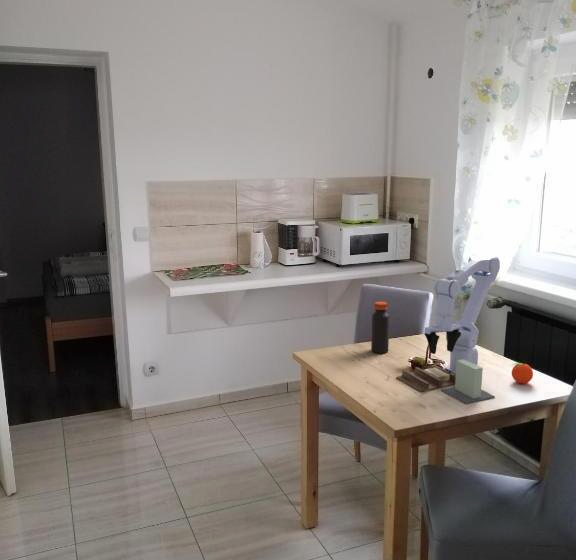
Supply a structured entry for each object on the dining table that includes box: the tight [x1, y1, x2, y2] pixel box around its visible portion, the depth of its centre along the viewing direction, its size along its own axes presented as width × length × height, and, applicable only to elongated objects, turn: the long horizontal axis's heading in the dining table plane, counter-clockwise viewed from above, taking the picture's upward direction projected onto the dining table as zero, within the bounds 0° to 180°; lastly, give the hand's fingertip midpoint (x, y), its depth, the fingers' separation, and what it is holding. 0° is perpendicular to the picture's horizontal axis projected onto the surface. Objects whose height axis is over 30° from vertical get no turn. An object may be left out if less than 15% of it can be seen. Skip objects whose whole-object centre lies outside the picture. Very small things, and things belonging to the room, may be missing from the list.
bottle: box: [370, 301, 390, 355], centre depth 237 cm, size 7×7×20 cm
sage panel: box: [454, 359, 484, 399], centre depth 196 cm, size 3×9×10 cm, turn 25°
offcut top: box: [423, 367, 450, 379], centre depth 210 cm, size 5×8×1 cm, turn 25°
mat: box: [440, 386, 496, 405], centre depth 197 cm, size 12×12×1 cm
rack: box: [396, 364, 456, 393], centre depth 209 cm, size 16×14×3 cm
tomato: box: [508, 362, 534, 384], centre depth 206 cm, size 8×7×7 cm
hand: (441, 352), depth 207 cm, fingers open, 7 cm apart
